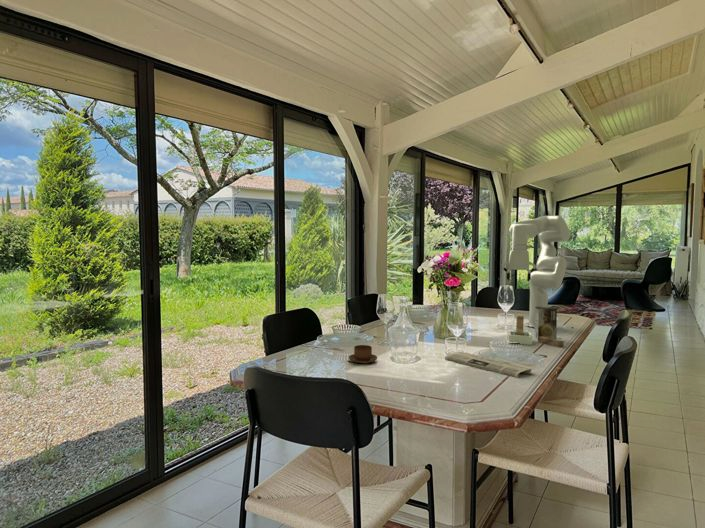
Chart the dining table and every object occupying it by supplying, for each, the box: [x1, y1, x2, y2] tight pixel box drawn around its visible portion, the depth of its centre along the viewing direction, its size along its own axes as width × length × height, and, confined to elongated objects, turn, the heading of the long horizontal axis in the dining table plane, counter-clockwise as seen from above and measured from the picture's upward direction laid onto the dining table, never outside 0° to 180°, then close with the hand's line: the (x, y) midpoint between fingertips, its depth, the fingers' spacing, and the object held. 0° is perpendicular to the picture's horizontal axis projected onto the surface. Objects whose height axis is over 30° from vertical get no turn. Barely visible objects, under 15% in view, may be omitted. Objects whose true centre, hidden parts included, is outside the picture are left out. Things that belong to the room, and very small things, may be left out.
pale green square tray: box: [507, 330, 533, 346], centre depth 246 cm, size 11×11×4 cm
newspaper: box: [444, 351, 536, 378], centre depth 204 cm, size 35×12×4 cm, turn 42°
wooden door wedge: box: [537, 336, 565, 348], centre depth 241 cm, size 12×3×3 cm, turn 33°
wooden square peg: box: [515, 314, 525, 335], centre depth 246 cm, size 3×3×12 cm
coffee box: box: [534, 306, 558, 341], centre depth 251 cm, size 9×6×16 cm
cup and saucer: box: [348, 344, 378, 364], centre depth 210 cm, size 12×12×6 cm
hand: (518, 280), depth 261 cm, fingers open, 9 cm apart
